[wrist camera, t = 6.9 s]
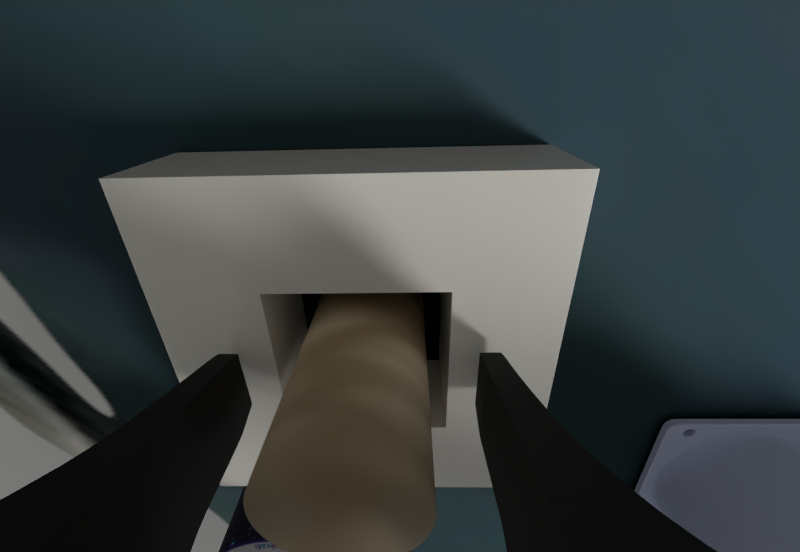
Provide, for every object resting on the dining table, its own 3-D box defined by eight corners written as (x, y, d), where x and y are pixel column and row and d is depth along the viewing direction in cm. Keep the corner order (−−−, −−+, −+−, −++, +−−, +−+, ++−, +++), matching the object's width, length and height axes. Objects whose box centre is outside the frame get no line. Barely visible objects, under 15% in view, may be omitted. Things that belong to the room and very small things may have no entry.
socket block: (550, 144, 12) (600, 168, 9) (508, 414, 18) (529, 487, 14) (176, 152, 12) (98, 178, 9) (252, 415, 18) (220, 485, 15)
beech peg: (425, 261, 14) (443, 453, 7) (421, 347, 16) (431, 567, 9) (317, 259, 14) (225, 447, 7) (325, 345, 16) (259, 562, 9)
